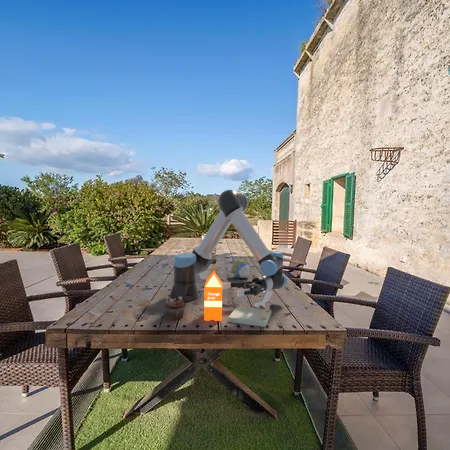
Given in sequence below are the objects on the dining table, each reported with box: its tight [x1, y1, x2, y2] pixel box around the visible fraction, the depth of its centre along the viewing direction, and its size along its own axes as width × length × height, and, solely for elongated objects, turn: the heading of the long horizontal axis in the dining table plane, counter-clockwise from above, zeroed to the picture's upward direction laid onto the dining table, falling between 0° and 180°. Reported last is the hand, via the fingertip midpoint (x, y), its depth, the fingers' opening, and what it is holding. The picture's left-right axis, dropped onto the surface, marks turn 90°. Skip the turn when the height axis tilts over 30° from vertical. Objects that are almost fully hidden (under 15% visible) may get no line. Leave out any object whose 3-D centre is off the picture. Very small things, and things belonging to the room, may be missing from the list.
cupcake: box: [162, 294, 186, 321], centre depth 129 cm, size 10×10×10 cm
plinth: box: [227, 301, 272, 328], centre depth 130 cm, size 16×16×6 cm
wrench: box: [253, 290, 274, 309], centre depth 158 cm, size 8×32×1 cm, turn 163°
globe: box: [229, 259, 251, 279], centre depth 210 cm, size 13×15×14 cm
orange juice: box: [203, 270, 223, 322], centre depth 130 cm, size 8×9×20 cm
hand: (228, 290), depth 134 cm, fingers open, 13 cm apart
